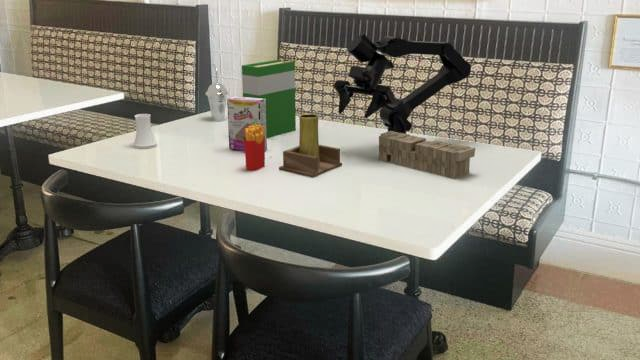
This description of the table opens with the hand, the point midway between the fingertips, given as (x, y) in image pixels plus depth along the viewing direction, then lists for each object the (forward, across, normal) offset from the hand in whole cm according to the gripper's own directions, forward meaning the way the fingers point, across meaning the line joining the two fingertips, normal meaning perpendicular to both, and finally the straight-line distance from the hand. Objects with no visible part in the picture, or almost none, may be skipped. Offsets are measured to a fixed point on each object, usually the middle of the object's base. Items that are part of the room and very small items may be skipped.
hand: (352, 115), depth 189 cm
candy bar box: (+17, -32, +2) cm, 36 cm away
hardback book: (+3, -40, +16) cm, 43 cm away
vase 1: (+28, -62, -9) cm, 69 cm away
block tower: (+5, +20, +15) cm, 25 cm away
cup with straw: (0, -69, +19) cm, 72 cm away
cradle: (+19, -4, 0) cm, 20 cm away
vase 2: (+19, -6, 0) cm, 19 cm away
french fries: (+26, -18, -6) cm, 32 cm away
